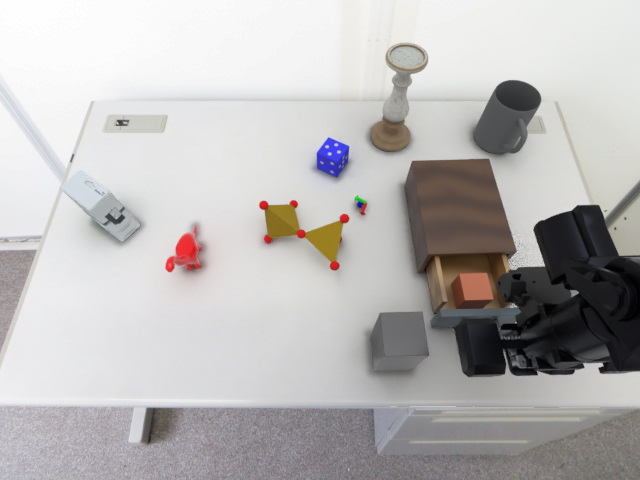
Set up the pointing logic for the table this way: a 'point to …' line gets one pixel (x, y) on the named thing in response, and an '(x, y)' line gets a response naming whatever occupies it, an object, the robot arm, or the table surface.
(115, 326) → the table surface
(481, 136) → the mug
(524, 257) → the table surface
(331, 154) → the die
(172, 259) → the dinosaur
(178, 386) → the table surface
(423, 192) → the cabinet
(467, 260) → the drawer
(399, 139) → the candle holder
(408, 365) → the pedestal
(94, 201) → the ink box
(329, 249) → the molecule model
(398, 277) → the table surface
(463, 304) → the block
